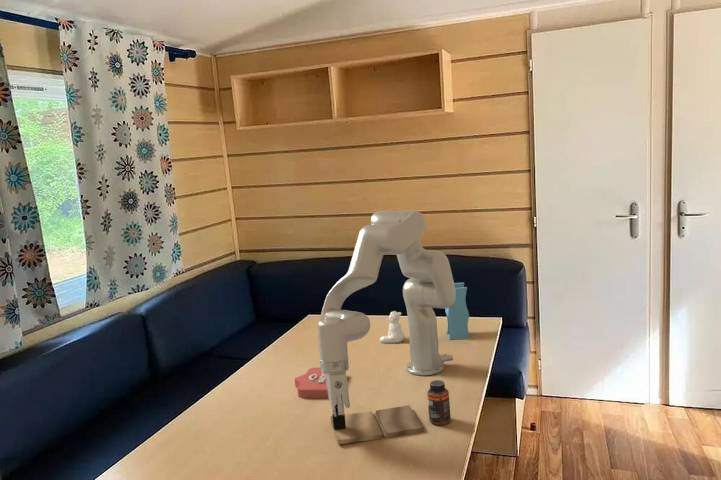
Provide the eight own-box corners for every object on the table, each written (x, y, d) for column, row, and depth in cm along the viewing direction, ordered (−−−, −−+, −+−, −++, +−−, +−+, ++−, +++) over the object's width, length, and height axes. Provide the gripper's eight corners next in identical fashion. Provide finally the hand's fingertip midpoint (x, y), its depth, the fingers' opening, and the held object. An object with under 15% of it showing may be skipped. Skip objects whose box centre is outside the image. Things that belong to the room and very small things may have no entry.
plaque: (301, 365, 208) (344, 365, 205) (302, 376, 208) (345, 376, 206) (286, 388, 190) (333, 387, 188) (288, 399, 191) (334, 399, 188)
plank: (372, 415, 175) (371, 411, 174) (382, 438, 161) (382, 434, 161) (330, 420, 172) (330, 416, 172) (338, 444, 159) (337, 440, 159)
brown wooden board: (409, 408, 177) (409, 405, 176) (423, 431, 163) (422, 427, 163) (373, 414, 175) (373, 411, 174) (384, 438, 161) (383, 433, 161)
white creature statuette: (392, 335, 241) (389, 306, 239) (410, 338, 236) (408, 308, 234) (378, 343, 233) (376, 313, 231) (397, 346, 228) (395, 315, 226)
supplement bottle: (452, 416, 170) (450, 378, 168) (448, 427, 164) (446, 388, 162) (431, 415, 172) (429, 377, 170) (427, 425, 166) (424, 386, 164)
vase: (470, 338, 230) (467, 287, 226) (449, 340, 230) (446, 289, 226) (466, 331, 237) (464, 282, 234) (446, 333, 238) (443, 283, 234)
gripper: (353, 372, 156) (358, 438, 159) (343, 353, 170) (348, 414, 173) (324, 376, 154) (329, 443, 157) (317, 356, 169) (322, 418, 172)
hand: (339, 428), depth 165 cm, fingers closed
